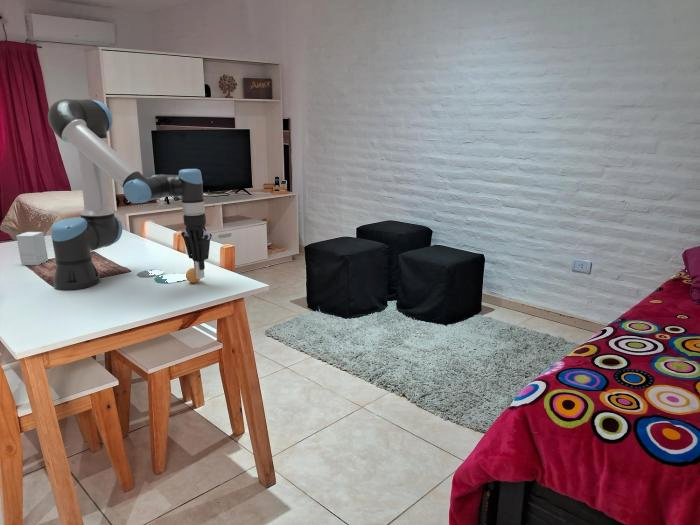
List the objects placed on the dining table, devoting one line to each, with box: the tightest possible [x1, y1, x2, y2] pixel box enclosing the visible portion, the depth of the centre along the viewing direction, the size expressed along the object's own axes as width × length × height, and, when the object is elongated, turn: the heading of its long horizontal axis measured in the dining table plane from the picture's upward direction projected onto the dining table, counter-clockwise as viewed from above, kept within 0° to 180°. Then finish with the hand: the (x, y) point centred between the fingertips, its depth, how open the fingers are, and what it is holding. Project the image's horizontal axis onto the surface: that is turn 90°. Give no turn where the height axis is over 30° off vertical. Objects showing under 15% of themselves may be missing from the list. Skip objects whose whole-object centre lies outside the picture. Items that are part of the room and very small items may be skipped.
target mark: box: [153, 276, 169, 284], centre depth 202 cm, size 13×13×1 cm
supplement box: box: [15, 231, 49, 266], centre depth 222 cm, size 7×7×13 cm
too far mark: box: [136, 269, 157, 278], centre depth 208 cm, size 10×10×1 cm
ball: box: [186, 267, 201, 284], centre depth 196 cm, size 6×6×6 cm
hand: (200, 277), depth 195 cm, fingers closed
